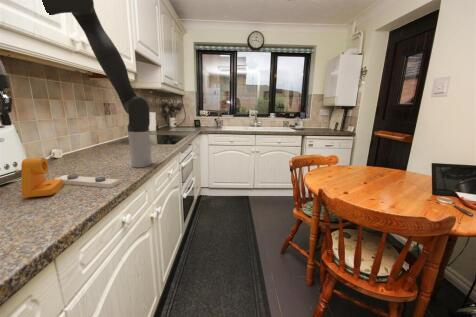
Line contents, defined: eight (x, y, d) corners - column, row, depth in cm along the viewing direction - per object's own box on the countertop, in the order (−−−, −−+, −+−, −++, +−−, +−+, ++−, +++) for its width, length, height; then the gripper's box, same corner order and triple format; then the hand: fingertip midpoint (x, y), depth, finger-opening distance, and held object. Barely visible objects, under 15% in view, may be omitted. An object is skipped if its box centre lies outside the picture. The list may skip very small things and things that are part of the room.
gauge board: (66, 178, 86) (65, 172, 85) (119, 183, 82) (119, 177, 82) (53, 182, 81) (52, 176, 80) (110, 187, 77) (109, 181, 77)
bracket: (52, 197, 69) (45, 161, 66) (23, 200, 66) (14, 163, 63) (64, 185, 78) (59, 154, 76) (39, 188, 76) (33, 155, 73)
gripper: (14, 72, 72) (29, 123, 76) (-3, 77, 78) (12, 125, 82) (-18, 69, 66) (0, 126, 70) (-34, 75, 71) (-16, 127, 75)
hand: (7, 125), depth 76 cm, fingers closed
